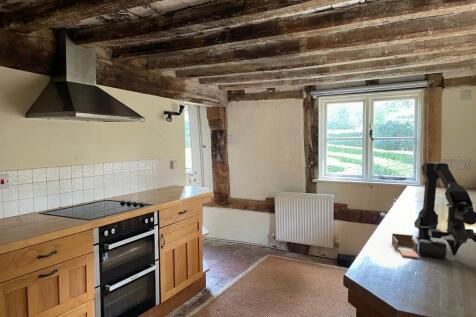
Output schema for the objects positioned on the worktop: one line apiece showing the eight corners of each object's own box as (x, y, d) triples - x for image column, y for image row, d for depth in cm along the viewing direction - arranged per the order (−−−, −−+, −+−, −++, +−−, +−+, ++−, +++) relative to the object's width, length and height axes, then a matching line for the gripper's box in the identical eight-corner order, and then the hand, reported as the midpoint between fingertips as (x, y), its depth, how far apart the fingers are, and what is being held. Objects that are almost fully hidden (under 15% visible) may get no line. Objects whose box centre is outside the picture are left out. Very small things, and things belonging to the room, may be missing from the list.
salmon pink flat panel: (398, 248, 149) (402, 254, 141) (415, 250, 147) (419, 257, 139) (398, 250, 149) (402, 256, 141) (415, 252, 147) (419, 258, 139)
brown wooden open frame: (391, 243, 160) (392, 233, 160) (411, 245, 158) (412, 235, 157) (395, 250, 150) (396, 239, 149) (417, 252, 147) (417, 241, 147)
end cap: (418, 257, 142) (419, 241, 141) (418, 252, 148) (419, 237, 148) (445, 261, 137) (446, 245, 137) (444, 256, 143) (445, 241, 143)
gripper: (436, 221, 134) (434, 258, 135) (490, 225, 129) (487, 264, 130) (429, 215, 145) (427, 250, 146) (478, 219, 140) (476, 255, 141)
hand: (453, 255), depth 140 cm, fingers closed
